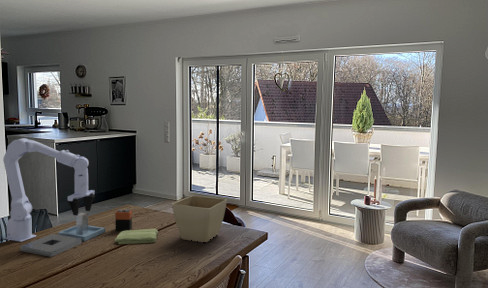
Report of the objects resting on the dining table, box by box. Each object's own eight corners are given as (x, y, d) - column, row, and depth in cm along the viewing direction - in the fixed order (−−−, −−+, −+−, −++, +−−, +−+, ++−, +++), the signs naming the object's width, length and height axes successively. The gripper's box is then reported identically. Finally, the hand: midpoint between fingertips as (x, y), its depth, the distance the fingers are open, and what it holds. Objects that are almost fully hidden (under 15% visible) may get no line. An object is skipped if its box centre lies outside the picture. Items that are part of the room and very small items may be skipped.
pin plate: (20, 250, 148) (20, 246, 148) (52, 238, 163) (52, 233, 163) (51, 256, 143) (51, 251, 143) (81, 243, 158) (81, 238, 158)
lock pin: (76, 233, 168) (75, 214, 167) (82, 231, 172) (81, 212, 171) (82, 234, 167) (82, 215, 166) (88, 232, 170) (88, 213, 170)
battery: (129, 231, 175) (129, 210, 174) (115, 231, 175) (115, 210, 174) (132, 228, 180) (132, 208, 179) (118, 228, 179) (118, 208, 179)
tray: (58, 236, 166) (58, 232, 165) (79, 228, 178) (79, 224, 178) (85, 241, 161) (84, 236, 161) (105, 232, 173) (105, 228, 173)
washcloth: (119, 235, 171) (119, 228, 170) (158, 234, 174) (158, 227, 173) (114, 245, 158) (114, 238, 158) (156, 244, 161) (156, 237, 160)
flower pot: (170, 240, 165) (170, 203, 163) (192, 228, 182) (192, 194, 181) (208, 247, 158) (209, 208, 156) (227, 234, 175) (227, 199, 174)
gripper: (76, 187, 159) (76, 218, 160) (99, 181, 173) (99, 210, 174) (63, 186, 161) (64, 216, 163) (87, 180, 175) (87, 208, 176)
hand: (81, 212), depth 168 cm, fingers open, 7 cm apart
